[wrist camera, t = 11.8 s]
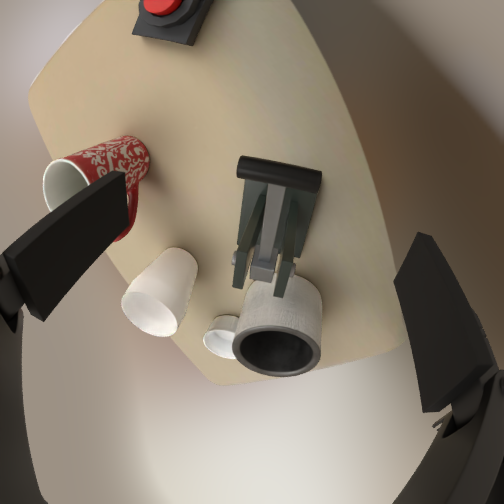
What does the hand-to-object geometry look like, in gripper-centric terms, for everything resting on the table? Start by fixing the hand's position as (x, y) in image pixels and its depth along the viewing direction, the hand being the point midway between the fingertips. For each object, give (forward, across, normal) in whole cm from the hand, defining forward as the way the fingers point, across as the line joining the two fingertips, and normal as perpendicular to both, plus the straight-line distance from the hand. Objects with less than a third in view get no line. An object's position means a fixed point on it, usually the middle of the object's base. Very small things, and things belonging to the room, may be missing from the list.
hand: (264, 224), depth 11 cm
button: (+20, -16, +15) cm, 30 cm away
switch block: (+24, -16, +15) cm, 32 cm away
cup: (+24, -14, -24) cm, 36 cm away
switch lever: (+10, 0, -5) cm, 12 cm away
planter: (+24, +4, -26) cm, 36 cm away
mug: (+24, -21, -8) cm, 33 cm away
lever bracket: (+24, 0, -11) cm, 26 cm away
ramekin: (+24, -4, -37) cm, 44 cm away
